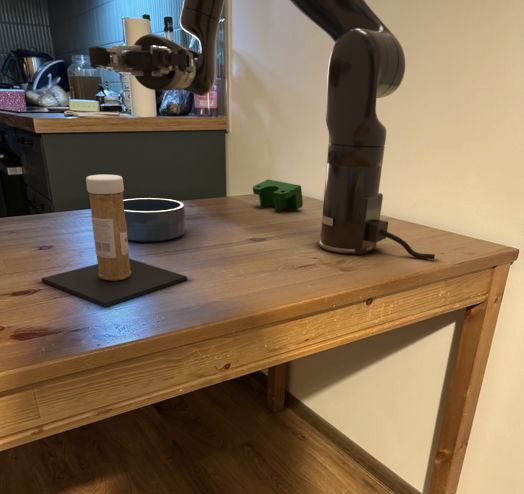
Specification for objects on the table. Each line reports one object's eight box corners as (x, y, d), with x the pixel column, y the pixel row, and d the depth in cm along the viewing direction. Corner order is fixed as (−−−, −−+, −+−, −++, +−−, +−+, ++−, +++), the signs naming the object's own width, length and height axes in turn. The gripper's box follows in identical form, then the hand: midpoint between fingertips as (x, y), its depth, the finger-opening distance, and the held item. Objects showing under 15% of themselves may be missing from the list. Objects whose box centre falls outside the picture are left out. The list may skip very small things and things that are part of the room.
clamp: (261, 224, 123) (246, 189, 121) (278, 215, 126) (263, 181, 124) (291, 213, 114) (275, 175, 111) (308, 204, 117) (293, 167, 114)
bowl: (199, 234, 95) (198, 205, 93) (146, 247, 86) (143, 215, 83) (152, 223, 102) (150, 195, 100) (98, 234, 93) (95, 204, 90)
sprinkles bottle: (138, 276, 70) (129, 176, 64) (110, 284, 67) (98, 179, 61) (119, 269, 72) (109, 172, 66) (91, 276, 69) (78, 175, 63)
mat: (187, 280, 71) (187, 276, 71) (105, 307, 61) (105, 303, 61) (124, 260, 79) (123, 257, 78) (42, 282, 68) (41, 278, 68)
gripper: (117, 36, 80) (69, 21, 65) (204, 38, 78) (174, 23, 64) (121, 89, 83) (77, 86, 69) (205, 92, 81) (177, 89, 67)
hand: (124, 56), depth 66 cm, fingers open, 8 cm apart
